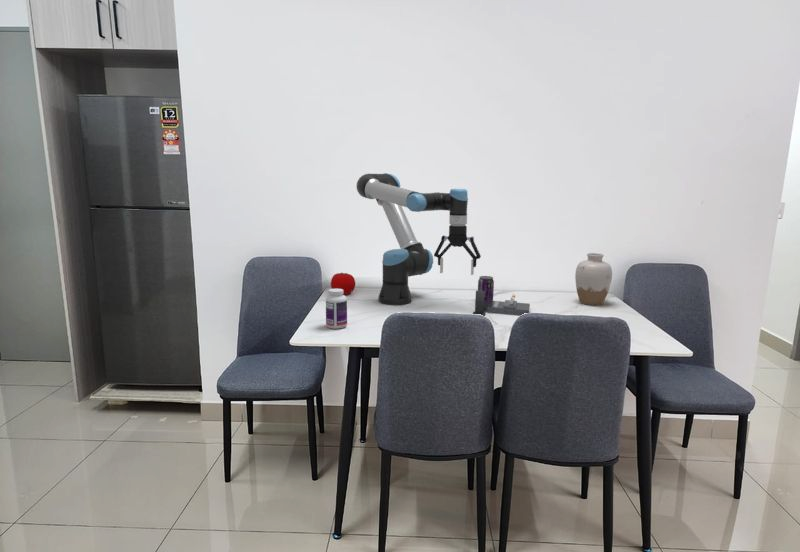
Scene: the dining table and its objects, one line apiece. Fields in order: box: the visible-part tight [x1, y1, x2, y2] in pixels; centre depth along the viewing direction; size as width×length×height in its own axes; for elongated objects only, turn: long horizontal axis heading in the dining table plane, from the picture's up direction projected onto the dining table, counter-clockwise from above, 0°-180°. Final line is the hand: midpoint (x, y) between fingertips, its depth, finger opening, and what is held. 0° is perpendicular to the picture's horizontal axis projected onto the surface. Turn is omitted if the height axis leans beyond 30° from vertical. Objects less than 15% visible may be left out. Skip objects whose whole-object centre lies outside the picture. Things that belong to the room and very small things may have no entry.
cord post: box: [472, 289, 486, 317], centre depth 223 cm, size 5×5×10 cm
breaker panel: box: [484, 299, 531, 316], centre depth 231 cm, size 22×12×4 cm, turn 74°
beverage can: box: [477, 275, 495, 301], centre depth 243 cm, size 7×7×12 cm
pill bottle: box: [325, 288, 348, 330], centre depth 203 cm, size 8×8×14 cm
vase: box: [574, 252, 613, 306], centre depth 245 cm, size 16×16×23 cm
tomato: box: [330, 272, 356, 296], centre depth 257 cm, size 12×12×10 cm
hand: (456, 273), depth 234 cm, fingers open, 13 cm apart
